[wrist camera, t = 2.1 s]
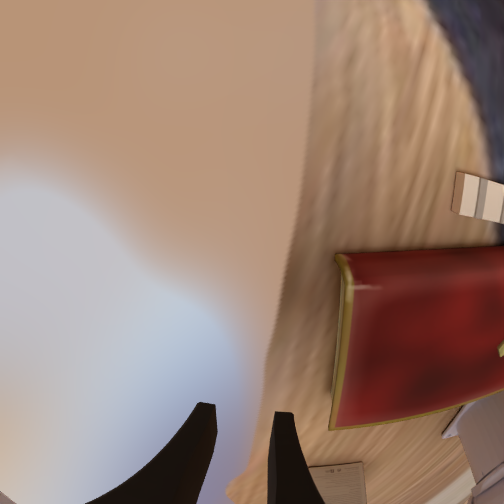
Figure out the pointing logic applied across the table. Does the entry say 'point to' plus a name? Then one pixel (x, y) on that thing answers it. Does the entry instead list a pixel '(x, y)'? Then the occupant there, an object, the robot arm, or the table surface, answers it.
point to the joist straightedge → (478, 198)
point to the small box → (340, 483)
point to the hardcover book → (417, 333)
